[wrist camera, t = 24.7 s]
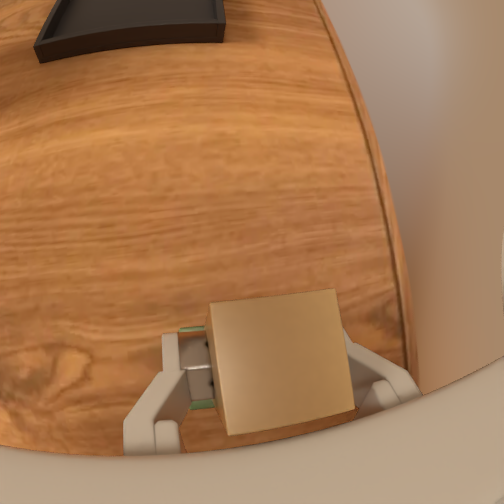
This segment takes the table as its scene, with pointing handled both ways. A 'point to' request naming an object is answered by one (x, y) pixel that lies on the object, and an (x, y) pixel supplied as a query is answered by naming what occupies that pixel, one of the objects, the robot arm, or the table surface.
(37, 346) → the table surface
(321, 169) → the table surface
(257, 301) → the scrub brush
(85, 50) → the black tray
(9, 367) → the table surface
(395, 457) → the robot arm
